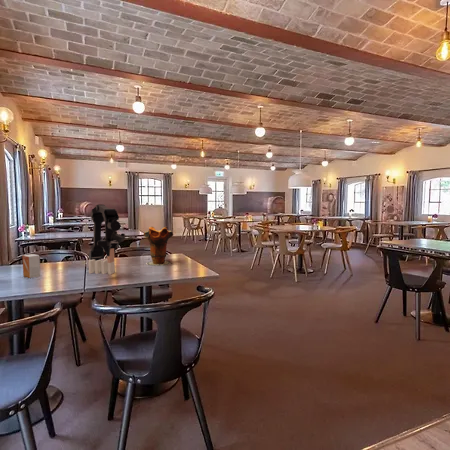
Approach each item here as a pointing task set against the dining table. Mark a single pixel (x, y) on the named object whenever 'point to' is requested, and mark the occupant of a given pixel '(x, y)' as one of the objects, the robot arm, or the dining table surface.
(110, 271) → the domino
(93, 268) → the domino
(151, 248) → the decorative vase
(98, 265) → the domino
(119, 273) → the dining table surface
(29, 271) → the small box
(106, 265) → the domino
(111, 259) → the domino
